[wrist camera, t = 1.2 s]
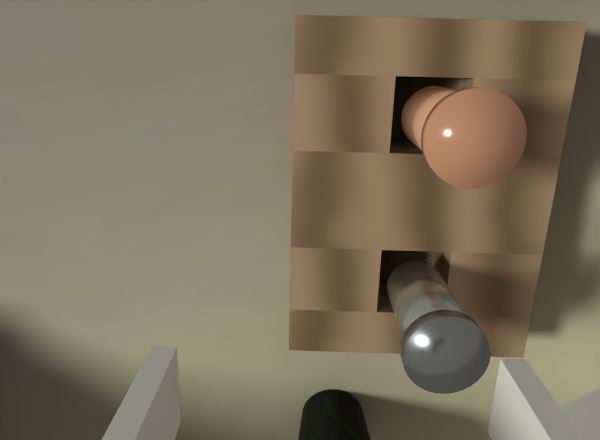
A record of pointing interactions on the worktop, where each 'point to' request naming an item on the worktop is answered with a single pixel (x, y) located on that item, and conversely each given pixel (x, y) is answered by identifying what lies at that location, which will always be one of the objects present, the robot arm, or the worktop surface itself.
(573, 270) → the worktop surface
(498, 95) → the terracotta plug
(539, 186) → the block
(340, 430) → the cup
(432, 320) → the grey plug
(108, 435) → the robot arm
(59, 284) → the worktop surface
